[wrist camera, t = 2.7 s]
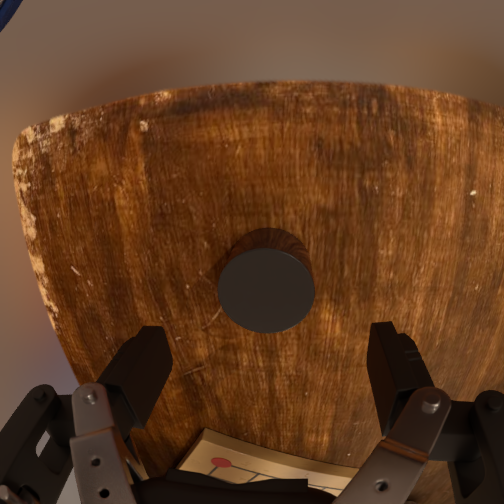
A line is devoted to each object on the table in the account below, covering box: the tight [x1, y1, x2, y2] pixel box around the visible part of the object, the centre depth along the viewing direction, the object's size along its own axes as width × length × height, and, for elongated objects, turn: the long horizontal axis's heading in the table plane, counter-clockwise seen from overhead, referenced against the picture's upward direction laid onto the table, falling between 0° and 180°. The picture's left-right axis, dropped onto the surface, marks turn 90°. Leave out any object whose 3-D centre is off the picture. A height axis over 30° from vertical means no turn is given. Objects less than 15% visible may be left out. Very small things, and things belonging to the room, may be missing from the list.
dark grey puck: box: [218, 228, 315, 333], centre depth 17 cm, size 5×5×3 cm
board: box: [175, 428, 359, 497], centre depth 29 cm, size 22×22×2 cm
